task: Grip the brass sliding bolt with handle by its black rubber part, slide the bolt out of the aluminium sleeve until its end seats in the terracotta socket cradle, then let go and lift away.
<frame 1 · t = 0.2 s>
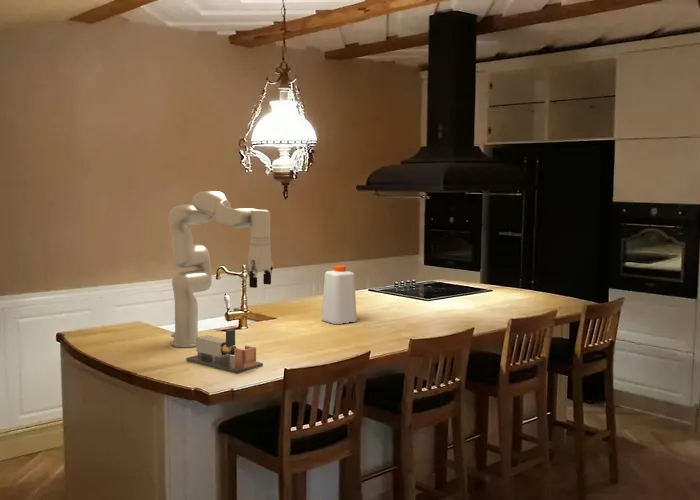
hand: (260, 285, 284), 30 cm above the worktop, fingers open, 9 cm apart
sliding bolt with handle: (217, 339, 287), point 9 cm above the worktop, slide at 0.0 cm
plastic bottle: (338, 321, 369), on the worktop
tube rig: (224, 363, 286), on the worktop
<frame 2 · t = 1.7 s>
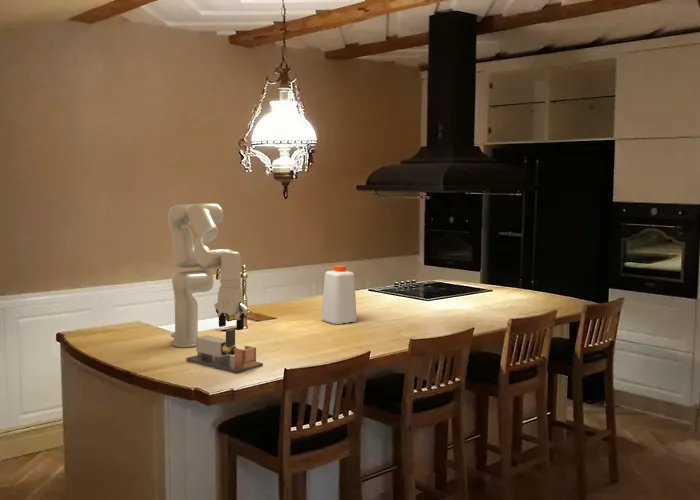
hand: (231, 328, 281), 15 cm above the worktop, fingers open, 9 cm apart
nothing on the worktop moved.
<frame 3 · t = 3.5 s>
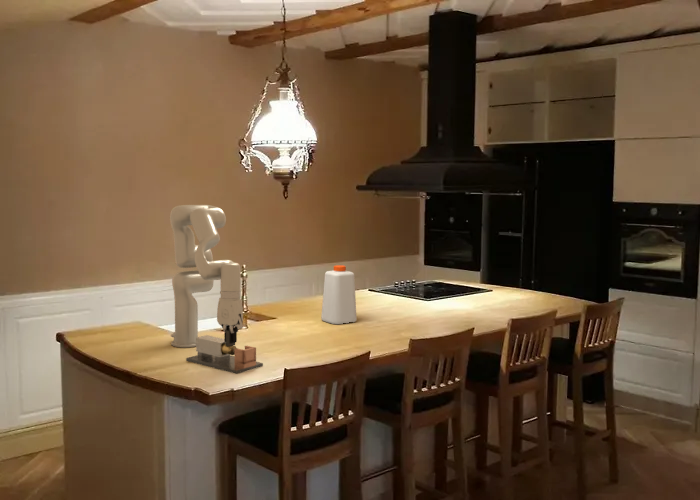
hand: (230, 341, 282), 9 cm above the worktop, fingers closed on sliding bolt with handle, 2 cm apart
sliding bolt with handle: (217, 339, 287), point 9 cm above the worktop, slide at 0.0 cm, touching gripper
everything else where it was.
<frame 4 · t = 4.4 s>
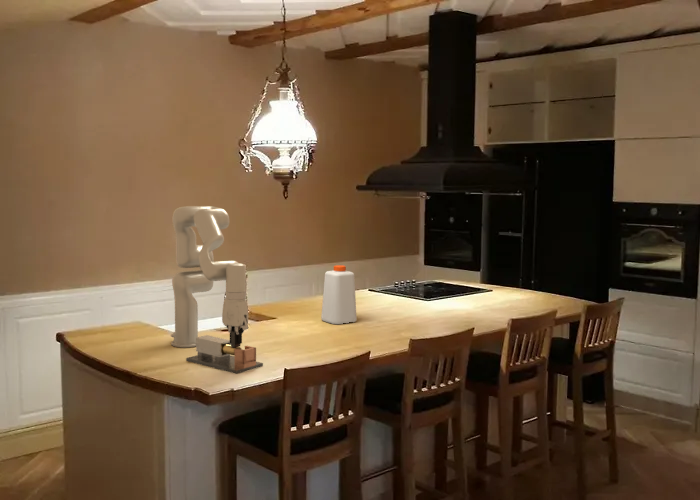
hand: (235, 343, 281), 9 cm above the worktop, fingers closed on sliding bolt with handle, 2 cm apart
sliding bolt with handle: (223, 340, 285), point 9 cm above the worktop, slide at 2.9 cm, touching gripper
everything else where it was.
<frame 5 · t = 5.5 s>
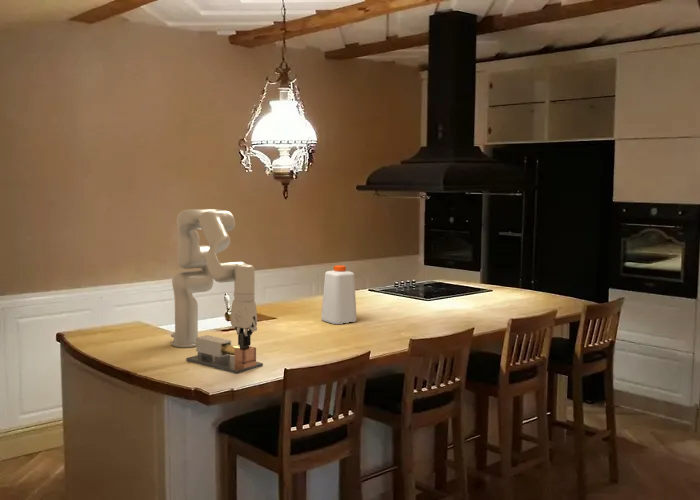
hand: (244, 344, 278), 9 cm above the worktop, fingers closed on sliding bolt with handle, 2 cm apart
sliding bolt with handle: (231, 342, 282), point 9 cm above the worktop, slide at 7.4 cm, touching gripper
everything else where it was.
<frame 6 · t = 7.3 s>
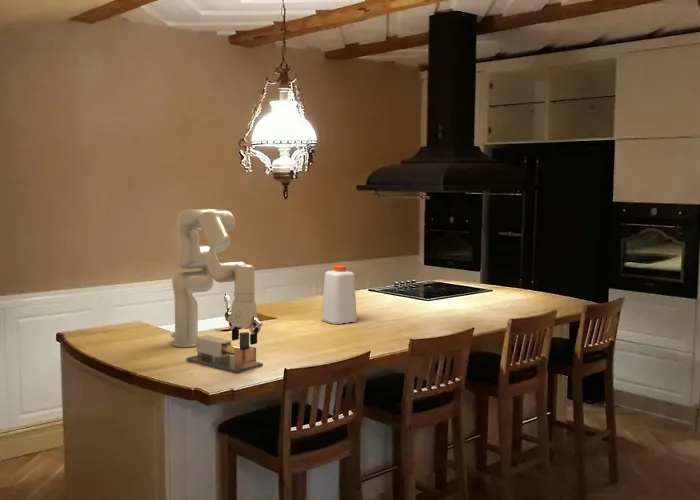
hand: (244, 341, 278), 10 cm above the worktop, fingers open, 9 cm apart
sliding bolt with handle: (231, 342, 282), point 9 cm above the worktop, slide at 7.5 cm
everything else where it was.
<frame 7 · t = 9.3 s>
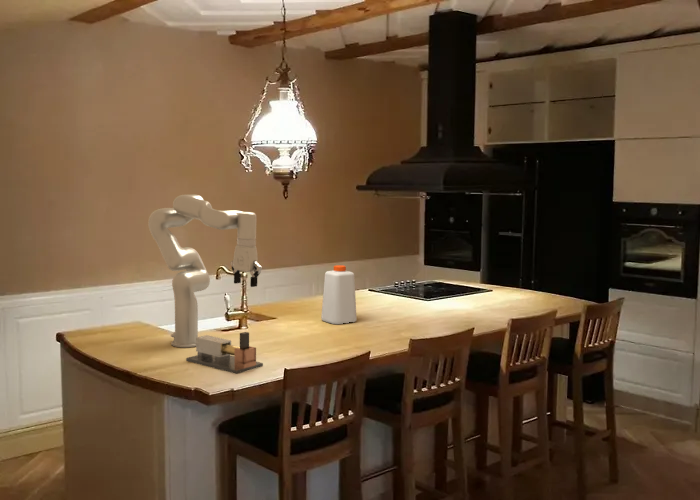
hand: (245, 284, 297), 29 cm above the worktop, fingers open, 9 cm apart
nothing on the worktop moved.
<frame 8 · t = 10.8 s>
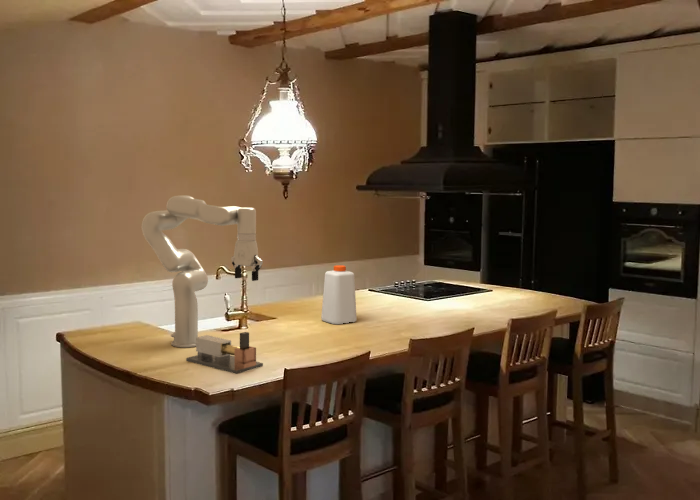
hand: (246, 279, 302), 30 cm above the worktop, fingers open, 9 cm apart
nothing on the worktop moved.
at the end: sliding bolt with handle slide at 7.5 cm; the gripper is holding nothing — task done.
